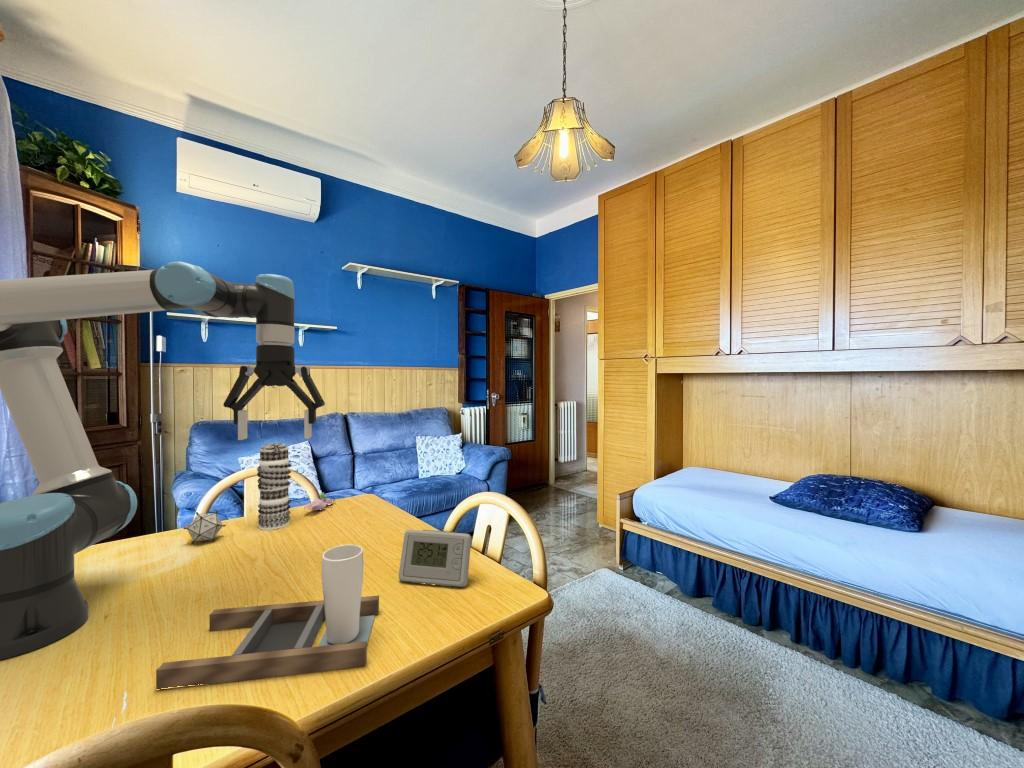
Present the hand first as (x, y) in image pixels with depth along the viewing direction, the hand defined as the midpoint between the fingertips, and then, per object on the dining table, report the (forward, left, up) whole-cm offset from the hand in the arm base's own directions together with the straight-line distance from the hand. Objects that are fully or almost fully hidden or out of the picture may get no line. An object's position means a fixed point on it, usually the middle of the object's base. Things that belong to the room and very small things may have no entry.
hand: (275, 438), depth 92 cm
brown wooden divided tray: (+11, -25, -32) cm, 42 cm away
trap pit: (+11, -25, -32) cm, 42 cm away
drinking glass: (+20, -25, -32) cm, 45 cm away
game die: (-27, +25, -32) cm, 49 cm away
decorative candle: (-13, +35, -32) cm, 49 cm away
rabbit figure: (-3, +48, -32) cm, 58 cm away
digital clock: (+36, -7, -32) cm, 49 cm away
